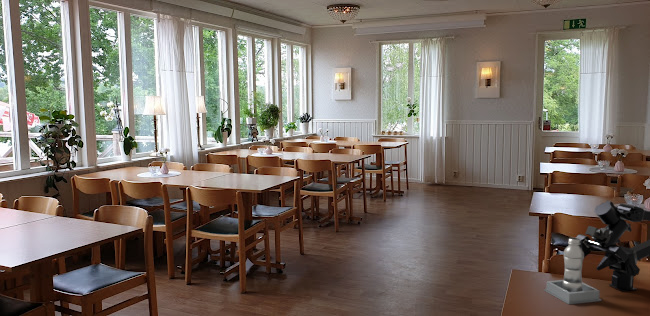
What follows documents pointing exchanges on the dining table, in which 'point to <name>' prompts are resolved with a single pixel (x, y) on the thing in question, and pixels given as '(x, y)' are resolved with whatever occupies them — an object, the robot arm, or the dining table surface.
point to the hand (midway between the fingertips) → (586, 265)
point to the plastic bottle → (573, 266)
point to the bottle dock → (572, 293)
